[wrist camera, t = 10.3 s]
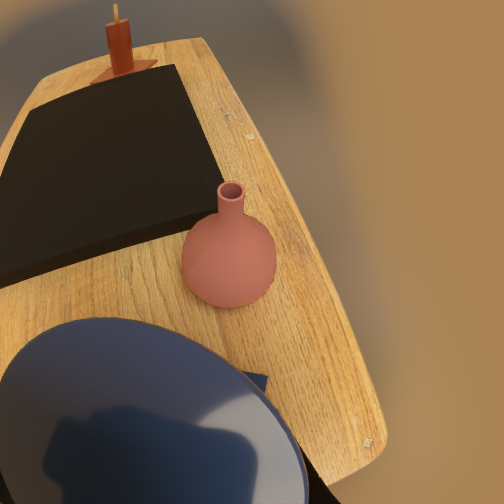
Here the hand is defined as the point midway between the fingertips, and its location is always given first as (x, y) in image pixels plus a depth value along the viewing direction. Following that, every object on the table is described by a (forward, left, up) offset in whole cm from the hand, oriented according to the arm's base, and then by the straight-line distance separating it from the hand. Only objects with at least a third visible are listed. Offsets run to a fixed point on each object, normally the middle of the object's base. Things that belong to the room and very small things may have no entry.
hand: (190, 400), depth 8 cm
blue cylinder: (-1, 0, -7) cm, 7 cm away
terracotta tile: (+54, +37, -13) cm, 66 cm away
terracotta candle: (+54, +37, -13) cm, 66 cm away
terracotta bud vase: (+11, +1, -14) cm, 17 cm away
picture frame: (+26, +27, -14) cm, 40 cm away
